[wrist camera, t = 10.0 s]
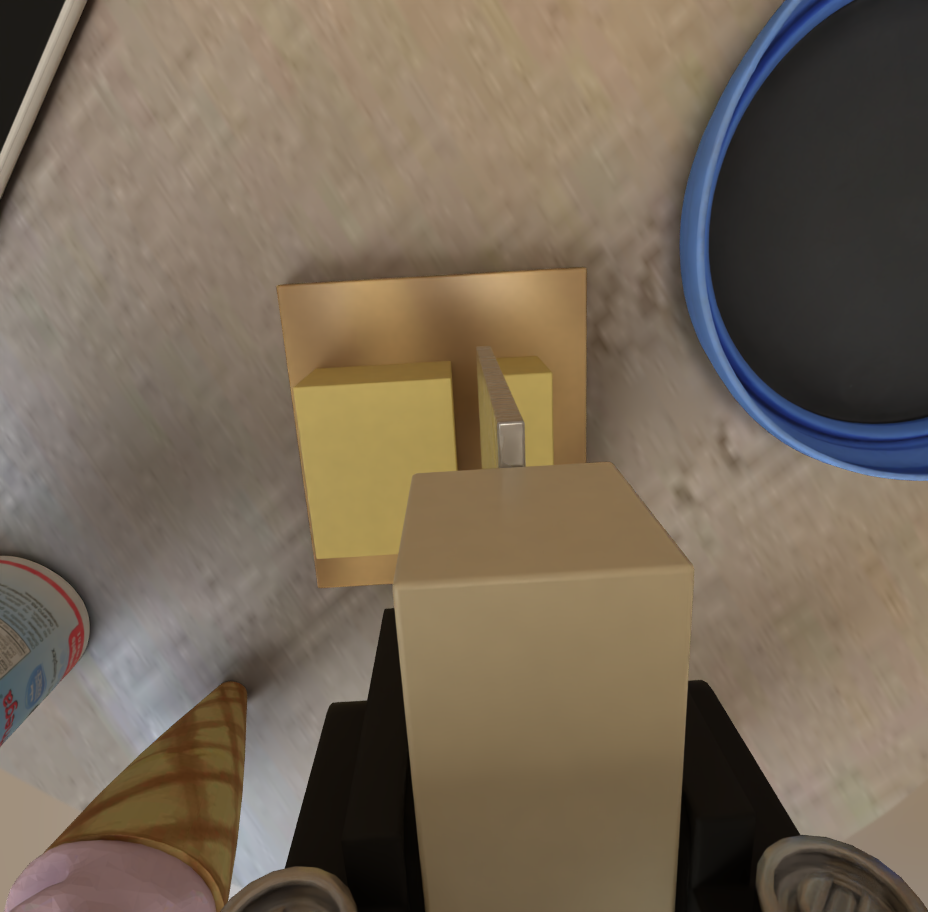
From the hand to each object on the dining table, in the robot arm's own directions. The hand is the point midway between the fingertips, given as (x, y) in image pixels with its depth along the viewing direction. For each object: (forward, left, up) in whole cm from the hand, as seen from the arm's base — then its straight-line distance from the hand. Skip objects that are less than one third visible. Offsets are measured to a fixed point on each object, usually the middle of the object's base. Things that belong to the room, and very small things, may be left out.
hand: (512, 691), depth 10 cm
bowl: (+16, +7, -17) cm, 24 cm away
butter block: (-3, 0, -15) cm, 16 cm away
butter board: (-1, 0, -17) cm, 17 cm away
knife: (0, 0, -5) cm, 5 cm away
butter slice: (+2, 0, -15) cm, 15 cm away
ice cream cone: (-12, -12, -17) cm, 24 cm away
